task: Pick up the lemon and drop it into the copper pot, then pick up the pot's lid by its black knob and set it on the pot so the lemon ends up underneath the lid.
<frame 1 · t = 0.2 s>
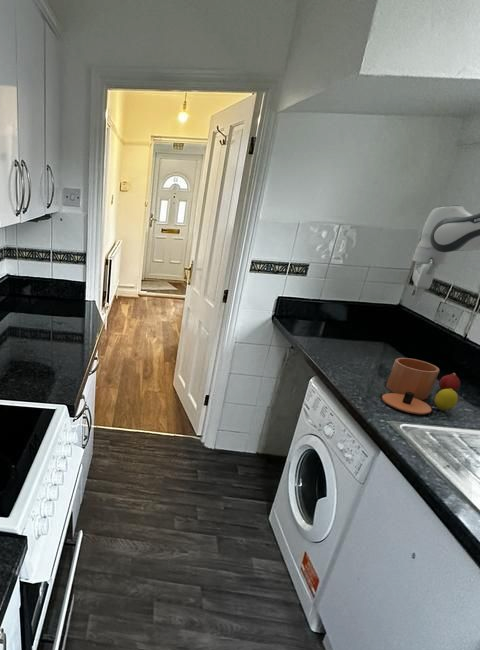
hand: (415, 297, 144), 32 cm above the counter, tool pointing down, fingers open, 8 cm apart
lemon: (440, 410, 137), on the counter
onion: (444, 393, 149), on the counter
pot: (406, 391, 149), on the counter
lid: (405, 404, 138), point 1 cm above the counter
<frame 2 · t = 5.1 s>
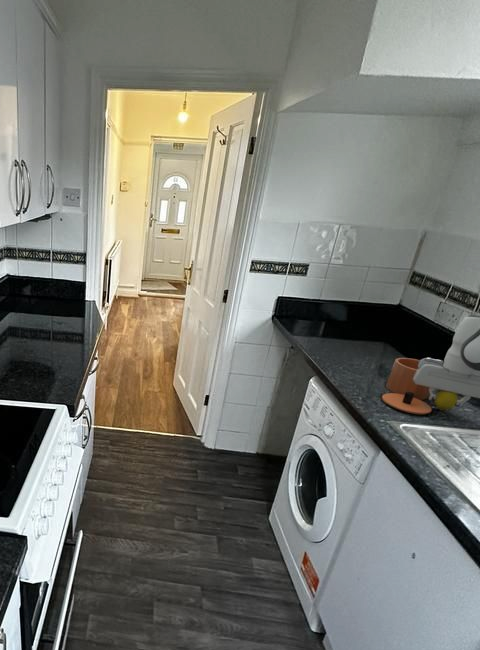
hand: (444, 403, 135), 3 cm above the counter, tool pointing down, fingers closed on lemon, 5 cm apart
lemon: (440, 410, 137), on the counter, touching gripper
everything else where it was.
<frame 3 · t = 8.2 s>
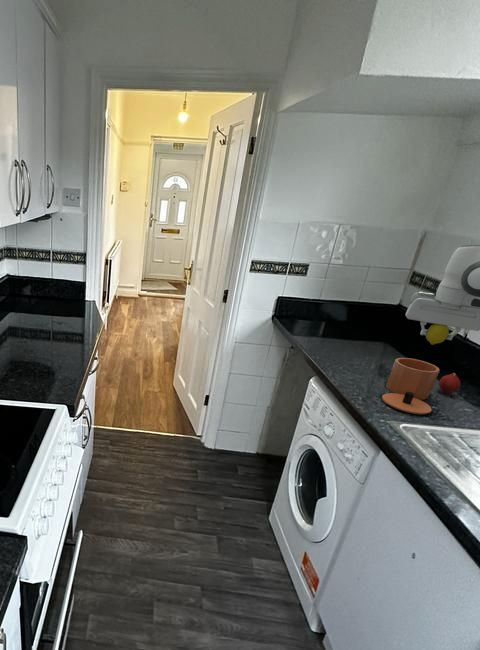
hand: (435, 337, 137), 22 cm above the counter, tool pointing down, fingers closed on lemon, 5 cm apart
lemon: (431, 345, 139), point 19 cm above the counter, touching gripper
everything else where it was.
when the fingers open (10 cm above the counter, at t = 11.7 s): lemon drops 6 cm, resting on pot.
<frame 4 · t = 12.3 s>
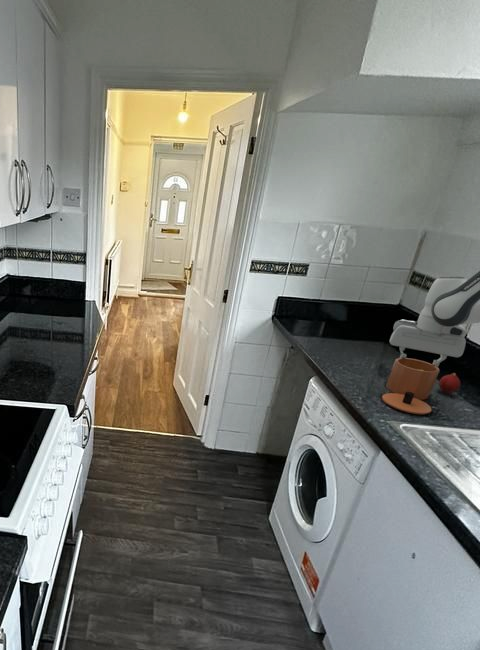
hand: (418, 362, 144), 11 cm above the counter, tool pointing down, fingers open, 8 cm apart
lemon: (407, 388, 148), point 1 cm above the counter, touching pot
everything else where it was.
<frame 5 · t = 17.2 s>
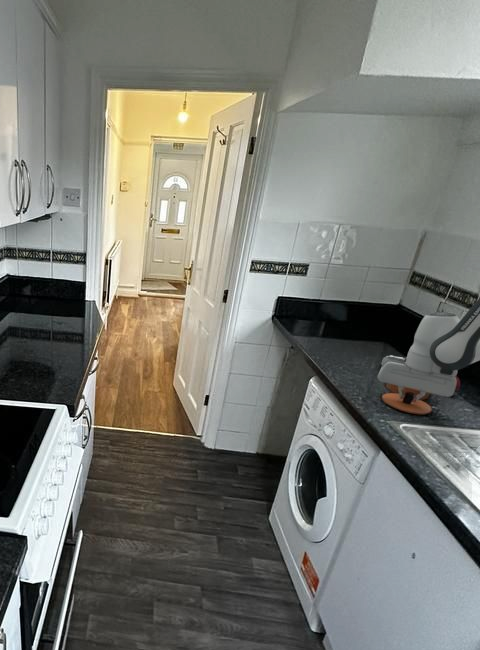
hand: (407, 400, 137), 2 cm above the counter, tool pointing down, fingers closed on lid, 2 cm apart
lid: (405, 404, 138), point 1 cm above the counter, touching gripper
everything else where it was.
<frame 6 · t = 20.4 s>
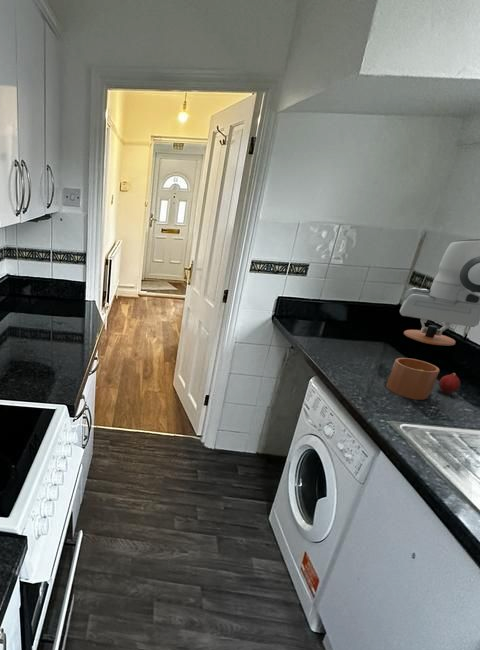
hand: (430, 333, 135), 23 cm above the counter, tool pointing down, fingers closed on lid, 2 cm apart
lid: (428, 338, 136), point 22 cm above the counter, touching gripper
everything else where it was.
when the fingers open (12 cm above the counter, at t = 23.8 s): lid stays where it is, resting on pot.
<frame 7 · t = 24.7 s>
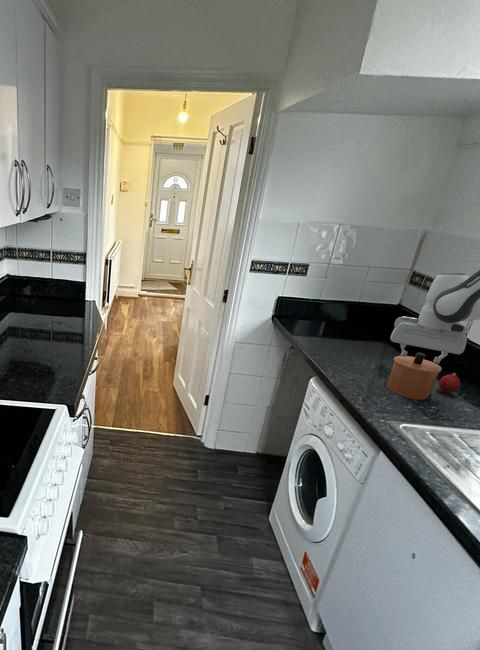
hand: (419, 359, 144), 13 cm above the counter, tool pointing down, fingers open, 8 cm apart
lid: (416, 364, 144), point 10 cm above the counter, touching pot
everything else where it was.
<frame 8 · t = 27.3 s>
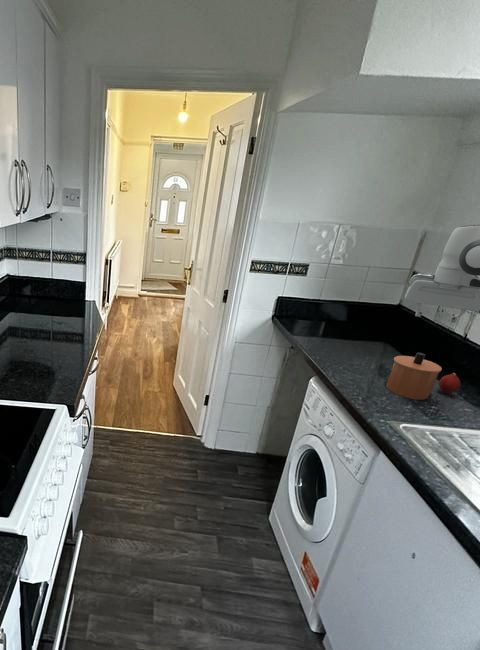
hand: (434, 319, 138), 27 cm above the counter, tool pointing down, fingers open, 8 cm apart
nothing on the counter moved.
at the end: lemon inside the target area in the pot (0.1 cm from its centre), point 1.0 cm above the pot's base; lid 0.1 cm off-centre on the pot, point 10.5 cm above the pot's base; lid tilted 0° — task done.
